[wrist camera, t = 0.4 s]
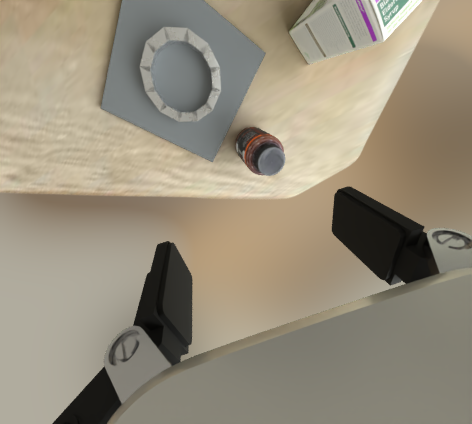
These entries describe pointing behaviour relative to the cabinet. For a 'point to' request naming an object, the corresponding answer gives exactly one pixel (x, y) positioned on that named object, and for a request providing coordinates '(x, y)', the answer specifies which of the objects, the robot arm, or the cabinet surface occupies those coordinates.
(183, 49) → the rubber mat
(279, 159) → the supplement bottle
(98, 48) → the cabinet surface
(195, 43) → the ring collar
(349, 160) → the cabinet surface
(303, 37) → the syrup box
